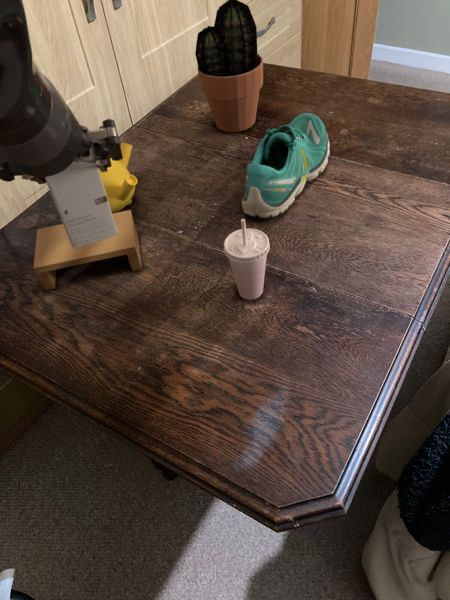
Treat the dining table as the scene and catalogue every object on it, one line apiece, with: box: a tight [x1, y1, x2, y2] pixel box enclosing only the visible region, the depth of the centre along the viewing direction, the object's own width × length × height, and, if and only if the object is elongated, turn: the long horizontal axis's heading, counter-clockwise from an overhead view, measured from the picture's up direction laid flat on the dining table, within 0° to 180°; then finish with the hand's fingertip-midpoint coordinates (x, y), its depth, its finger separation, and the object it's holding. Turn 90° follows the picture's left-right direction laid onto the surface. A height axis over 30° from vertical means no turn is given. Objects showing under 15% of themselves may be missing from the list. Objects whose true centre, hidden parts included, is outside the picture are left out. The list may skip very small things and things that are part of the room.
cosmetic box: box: [45, 164, 118, 249], centre depth 59 cm, size 6×4×12 cm
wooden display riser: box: [33, 209, 143, 291], centre depth 82 cm, size 16×10×5 cm, turn 102°
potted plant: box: [194, 0, 264, 133], centre depth 102 cm, size 14×14×25 cm
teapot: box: [98, 142, 138, 214], centre depth 90 cm, size 14×14×11 cm
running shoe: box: [241, 112, 331, 220], centre depth 89 cm, size 11×29×11 cm, turn 155°
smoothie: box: [223, 218, 271, 301], centre depth 70 cm, size 6×6×14 cm
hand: (72, 169), depth 58 cm, fingers closed on cosmetic box, 6 cm apart
